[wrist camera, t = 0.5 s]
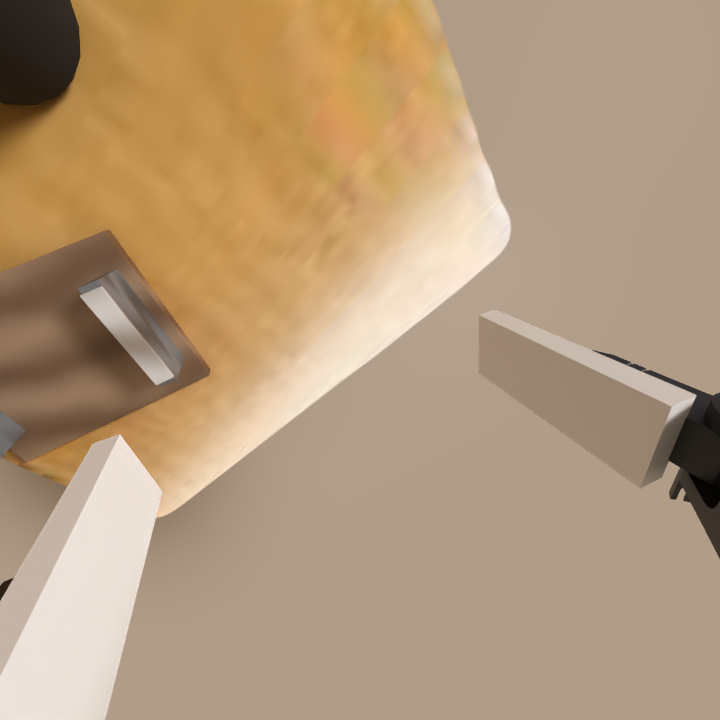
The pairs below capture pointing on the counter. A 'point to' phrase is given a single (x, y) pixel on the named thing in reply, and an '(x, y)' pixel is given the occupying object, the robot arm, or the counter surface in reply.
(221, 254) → the counter surface
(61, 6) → the coffee jar
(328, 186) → the counter surface
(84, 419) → the holder
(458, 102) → the counter surface
